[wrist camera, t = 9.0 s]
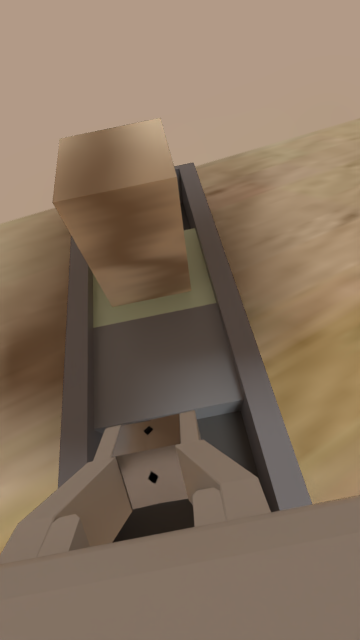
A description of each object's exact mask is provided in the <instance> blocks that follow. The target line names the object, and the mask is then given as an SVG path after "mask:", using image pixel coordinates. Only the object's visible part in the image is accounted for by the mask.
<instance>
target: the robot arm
mask: <svg viewBox="0 0 360 640" xmlns="http://www.w3.org/2000/svg"><path fill="white" fill-rule="evenodd" d="M183 499H189V501H190V502H191V504H192V505H193V511H194V526H195V527H192V528H187V529H181V530H176V531H171V532H166V533H161V534H155V535H150V536H145V537H140V538H135V539H129V540H124V541H119V542H114V543H112V542H113V541H114V539H115V537H116V536H117V534H118V533H119V531H120V530H121V528H122V526H123V525H124V523H125V522H126V520H127V519H128V517H129V515H130V514H131V512H132V509H136V508H141V507H145V506H150V505H154V504H159V503H164V502H170V501H176V500H183ZM0 640H360V495H358V496H353V497H348V498H343V499H338V500H332V501H327V502H322V503H317V504H312V505H306V506H301V507H296V508H291V509H286V510H280V511H275V512H271V511H270V508H269V506H268V503H267V500H266V498H265V495H264V493H263V490H262V487H261V485H260V482H259V479H258V477H256V476H255V475H253V474H252V473H250V472H249V471H248V470H246V469H245V468H243V467H242V466H240V465H239V464H238V463H236V462H235V461H233V460H232V459H231V458H229V457H228V456H226V455H225V454H223V453H222V452H221V451H219V450H218V449H216V448H215V447H213V446H212V445H211V444H209V443H208V442H206V441H205V440H201V436H200V432H199V427H198V422H197V418H196V413H195V411H194V410H191V411H187V412H183V413H180V414H174V415H170V416H166V417H161V418H157V419H152V420H145V421H140V422H134V423H129V424H123V425H117V426H112V427H108V428H106V429H105V431H104V433H103V436H102V439H101V441H100V444H99V447H98V449H97V452H96V454H95V457H94V460H93V461H92V462H88V463H87V464H86V465H85V466H83V467H82V468H81V469H80V470H79V471H78V472H77V473H75V474H74V475H73V476H72V477H71V478H70V479H69V480H67V481H66V482H65V483H64V484H63V485H62V486H61V487H59V488H58V489H57V490H56V491H55V492H54V493H53V494H51V495H50V496H49V497H48V498H47V499H46V500H45V501H43V502H42V503H41V504H40V505H39V506H38V507H37V508H35V509H34V510H33V511H32V512H31V513H30V514H29V515H27V516H26V517H25V518H24V519H23V520H22V521H21V522H19V523H18V525H17V526H16V528H15V530H14V532H13V533H12V535H11V537H10V539H9V540H8V542H7V544H6V546H5V547H4V549H3V551H2V553H1V554H0Z"/></svg>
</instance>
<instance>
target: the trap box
mask: <svg viewBox="0 0 360 640" xmlns="http://www.w3.org/2000/svg"><path fill="white" fill-rule="evenodd" d="M174 168H175V172H176V175H177V182H178V190H179V198H180V205H181V213H182V221H183V229H184V237H185V245H186V253H187V261H188V268H189V276H190V284H191V291H189V292H184V293H179V294H174V295H169V296H164V297H159V298H155V299H150V300H145V301H140V302H135V303H130V304H125V305H120V306H115V307H112V306H111V304H110V302H109V301H108V299H107V297H106V295H105V294H104V292H103V290H102V288H101V287H100V285H99V283H98V281H97V280H96V278H95V276H94V274H93V273H92V271H91V269H90V267H89V266H88V264H87V262H86V260H85V258H84V257H83V255H82V253H81V251H80V250H79V248H78V246H77V244H76V243H75V241H74V239H73V237H72V236H71V247H70V266H69V286H68V305H67V324H66V343H65V362H64V382H63V401H62V420H61V439H60V458H59V478H58V488H59V487H61V486H62V485H63V484H64V483H65V482H66V481H67V480H69V479H70V478H71V477H72V476H73V475H74V474H75V473H77V472H78V471H79V470H80V469H81V468H82V467H83V466H85V465H86V464H87V463H88V462H92V461H93V460H94V457H95V454H96V452H97V449H98V447H99V444H100V441H101V439H102V436H103V433H104V431H105V429H106V428H108V427H112V426H117V425H123V424H129V423H134V422H140V421H145V420H152V419H157V418H161V417H166V416H170V415H174V414H180V413H183V412H187V411H191V410H194V411H195V413H196V418H197V422H198V427H199V432H200V436H201V440H205V441H206V442H208V443H209V444H211V445H212V446H213V447H215V448H216V449H218V450H219V451H221V452H222V453H223V454H225V455H226V456H228V457H229V458H231V459H232V460H233V461H235V462H236V463H238V464H239V465H240V466H242V467H243V468H245V469H246V470H248V471H249V472H250V473H252V474H253V475H255V476H256V477H258V479H259V482H260V485H261V487H262V490H263V493H264V495H265V498H266V500H267V503H268V506H269V508H270V511H271V512H275V511H280V510H286V509H291V508H296V507H301V506H306V505H312V502H311V499H310V496H309V493H308V491H307V488H306V485H305V482H304V479H303V476H302V473H301V470H300V468H299V465H298V462H297V459H296V456H295V453H294V450H293V447H292V445H291V442H290V439H289V436H288V433H287V430H286V427H285V424H284V422H283V419H282V416H281V413H280V410H279V407H278V404H277V401H276V399H275V396H274V393H273V390H272V387H271V384H270V381H269V378H268V376H267V373H266V370H265V367H264V364H263V361H262V358H261V355H260V353H259V350H258V347H257V344H256V341H255V338H254V335H253V332H252V330H251V327H250V324H249V321H248V318H247V315H246V312H245V309H244V307H243V304H242V301H241V298H240V295H239V292H238V289H237V286H236V284H235V281H234V278H233V275H232V272H231V269H230V266H229V263H228V261H227V258H226V255H225V252H224V249H223V246H222V243H221V240H220V238H219V235H218V232H217V229H216V226H215V223H214V220H213V217H212V214H211V212H210V209H209V206H208V203H207V200H206V197H205V194H204V191H203V189H202V186H201V183H200V180H199V177H198V174H197V171H196V168H195V166H194V163H189V164H184V165H179V166H174ZM192 527H195V526H194V511H193V505H192V504H191V502H190V501H189V499H183V500H176V501H170V502H164V503H159V504H154V505H150V506H145V507H141V508H136V509H132V512H131V514H130V515H129V517H128V519H127V520H126V522H125V523H124V525H123V526H122V528H121V530H120V531H119V533H118V534H117V536H116V537H115V539H114V541H113V542H112V543H114V542H119V541H124V540H129V539H135V538H140V537H145V536H150V535H155V534H161V533H166V532H171V531H176V530H181V529H187V528H192Z"/></svg>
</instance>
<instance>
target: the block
mask: <svg viewBox="0 0 360 640" xmlns="http://www.w3.org/2000/svg"><path fill="white" fill-rule="evenodd" d="M53 204H54V206H55V208H56V209H57V211H58V213H59V215H60V216H61V218H62V220H63V222H64V223H65V225H66V227H67V229H68V230H69V232H70V234H71V236H72V237H73V239H74V241H75V243H76V244H77V246H78V248H79V250H80V251H81V253H82V255H83V257H84V258H85V260H86V262H87V264H88V266H89V267H90V269H91V271H92V273H93V274H94V276H95V278H96V280H97V281H98V283H99V285H100V287H101V288H102V290H103V292H104V294H105V295H106V297H107V299H108V301H109V302H110V304H111V306H112V307H115V306H120V305H125V304H130V303H135V302H140V301H145V300H150V299H155V298H159V297H164V296H169V295H174V294H179V293H184V292H189V291H191V284H190V276H189V268H188V261H187V253H186V245H185V237H184V229H183V221H182V213H181V205H180V198H179V190H178V182H177V175H176V172H175V168H174V165H173V162H172V158H171V154H170V150H169V147H168V144H167V140H166V136H165V133H164V129H163V126H162V122H161V119H160V118H157V119H152V120H148V121H143V122H138V123H133V124H128V125H123V126H119V127H114V128H109V129H104V130H100V131H95V132H90V133H85V134H80V135H75V136H71V137H66V138H61V139H60V140H59V150H58V158H57V168H56V177H55V185H54V195H53Z"/></svg>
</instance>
